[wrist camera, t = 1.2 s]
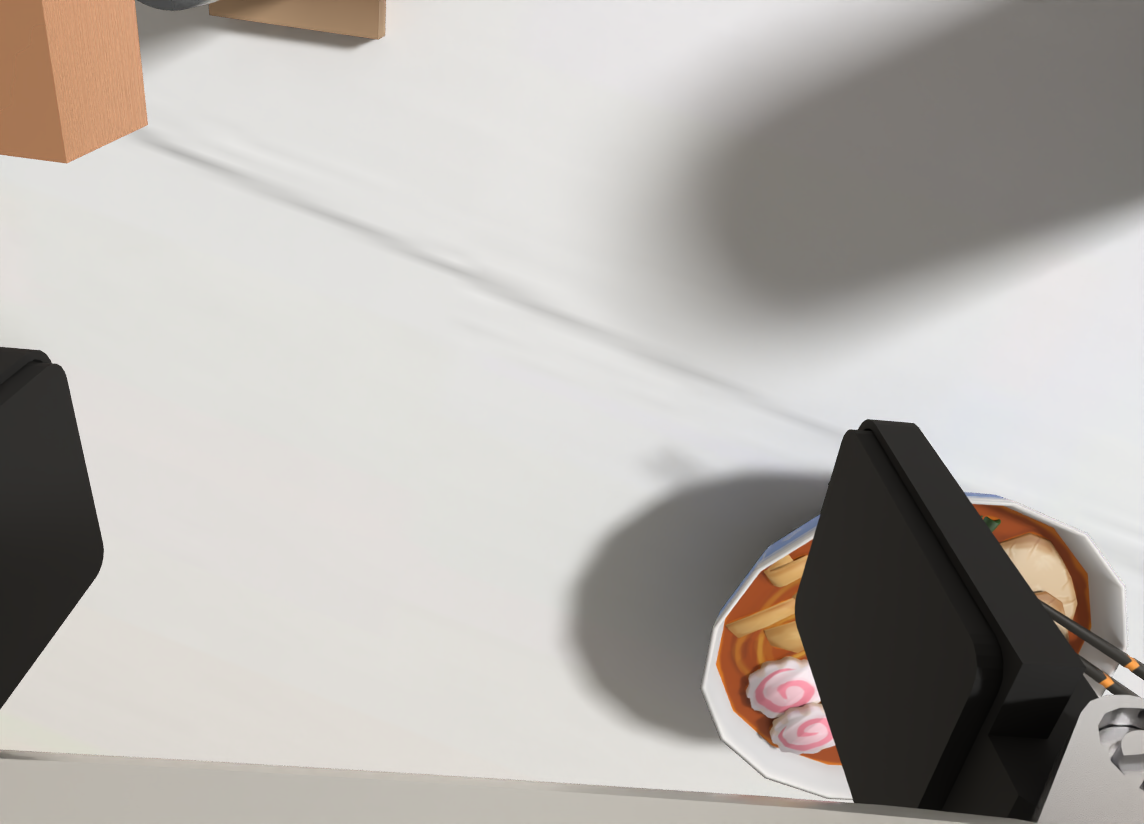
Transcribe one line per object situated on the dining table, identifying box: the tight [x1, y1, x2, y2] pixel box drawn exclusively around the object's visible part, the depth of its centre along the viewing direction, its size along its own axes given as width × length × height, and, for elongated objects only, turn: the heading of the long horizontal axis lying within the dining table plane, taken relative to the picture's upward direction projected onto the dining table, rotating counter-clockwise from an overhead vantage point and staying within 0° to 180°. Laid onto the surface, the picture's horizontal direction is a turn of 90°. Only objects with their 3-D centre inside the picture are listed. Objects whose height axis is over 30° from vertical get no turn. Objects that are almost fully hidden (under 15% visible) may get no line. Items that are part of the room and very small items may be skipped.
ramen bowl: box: [700, 482, 1144, 800], centre depth 49 cm, size 25×23×8 cm
